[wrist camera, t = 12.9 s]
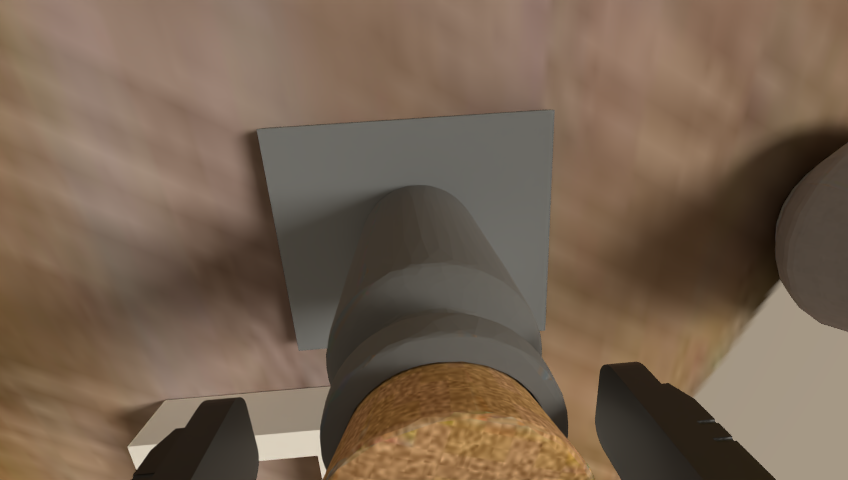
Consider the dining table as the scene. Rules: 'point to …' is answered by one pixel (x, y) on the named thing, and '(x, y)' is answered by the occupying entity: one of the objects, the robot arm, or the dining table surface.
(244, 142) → the dining table surface
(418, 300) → the bottle
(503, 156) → the mat
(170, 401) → the power strip
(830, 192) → the coffee pot
